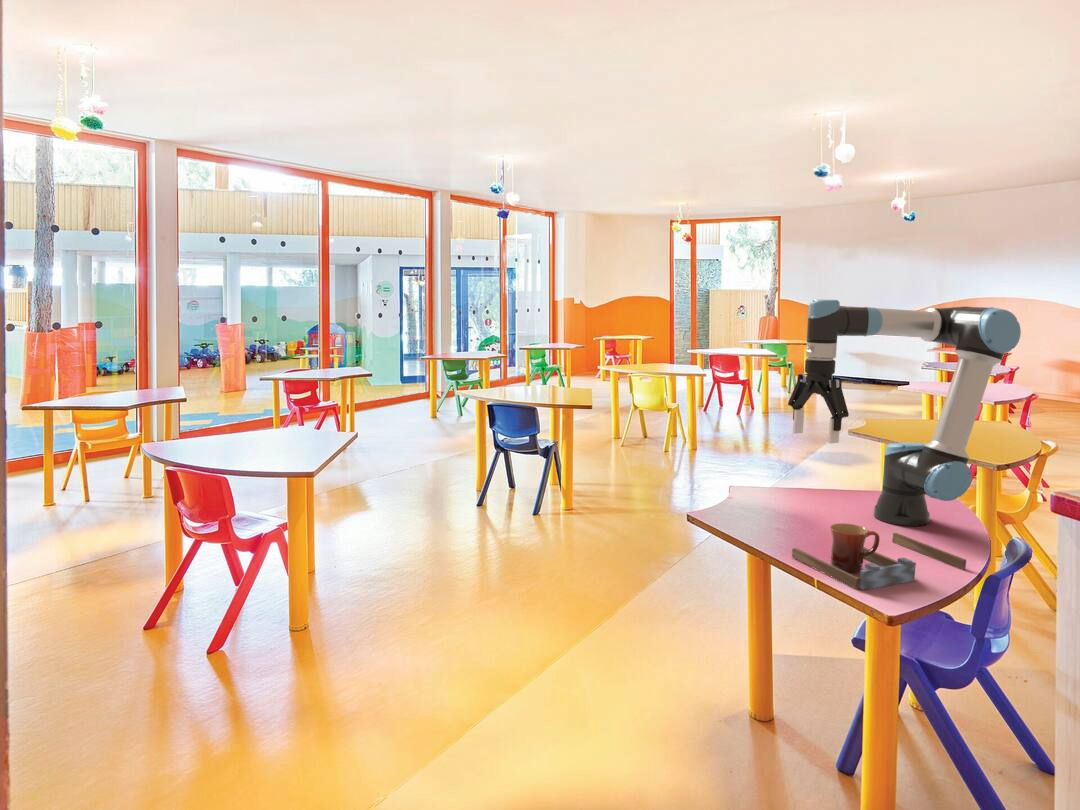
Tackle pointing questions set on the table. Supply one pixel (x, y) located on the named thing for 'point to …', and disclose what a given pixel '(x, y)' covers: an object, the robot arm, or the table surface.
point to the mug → (850, 546)
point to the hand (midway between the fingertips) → (815, 437)
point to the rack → (890, 568)
